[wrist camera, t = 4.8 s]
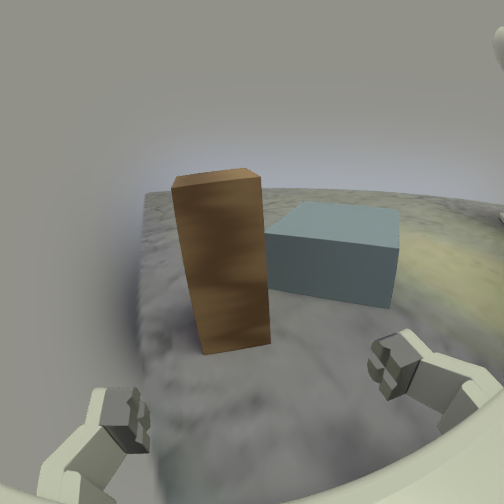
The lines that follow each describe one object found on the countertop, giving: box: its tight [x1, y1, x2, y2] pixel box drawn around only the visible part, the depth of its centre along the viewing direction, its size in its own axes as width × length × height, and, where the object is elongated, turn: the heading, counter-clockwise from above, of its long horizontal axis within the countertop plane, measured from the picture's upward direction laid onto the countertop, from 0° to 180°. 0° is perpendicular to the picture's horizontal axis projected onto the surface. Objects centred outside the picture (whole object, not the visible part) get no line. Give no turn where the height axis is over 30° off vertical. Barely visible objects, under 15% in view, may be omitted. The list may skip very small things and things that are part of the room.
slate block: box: [264, 201, 399, 309], centre depth 29 cm, size 12×12×6 cm
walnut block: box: [171, 168, 271, 355], centre depth 20 cm, size 5×5×12 cm
